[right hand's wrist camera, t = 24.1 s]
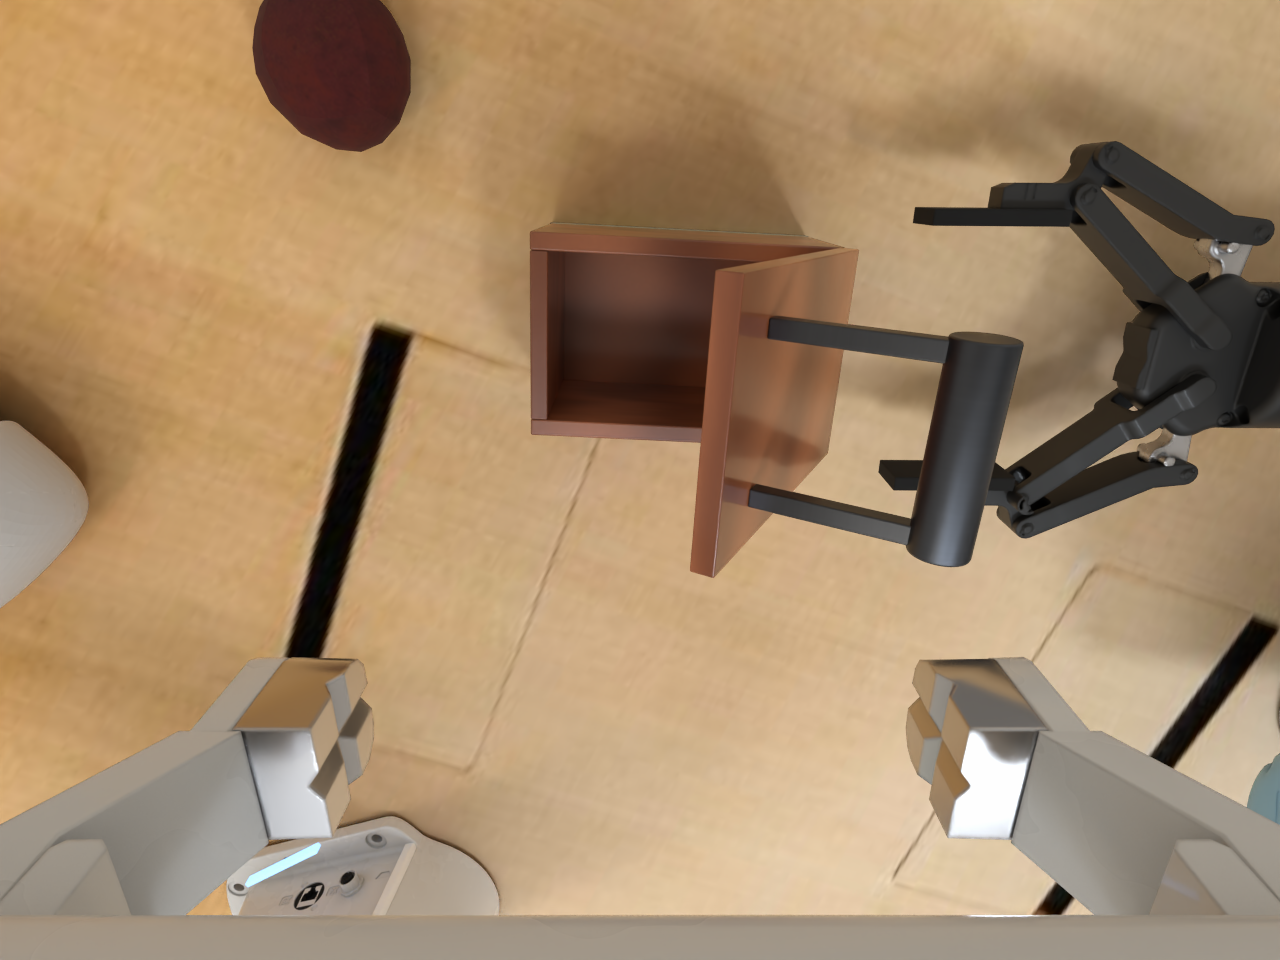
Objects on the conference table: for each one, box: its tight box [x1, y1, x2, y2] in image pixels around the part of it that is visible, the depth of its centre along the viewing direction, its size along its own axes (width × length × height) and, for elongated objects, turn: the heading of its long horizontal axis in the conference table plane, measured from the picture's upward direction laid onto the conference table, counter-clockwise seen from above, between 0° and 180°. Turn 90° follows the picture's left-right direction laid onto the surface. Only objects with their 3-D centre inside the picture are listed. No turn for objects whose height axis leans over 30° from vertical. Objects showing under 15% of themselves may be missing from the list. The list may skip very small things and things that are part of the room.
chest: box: [530, 222, 844, 443], centre depth 40 cm, size 15×10×9 cm
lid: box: [690, 248, 1024, 578], centre depth 27 cm, size 15×10×8 cm
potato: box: [253, 0, 410, 152], centre depth 36 cm, size 7×8×7 cm
